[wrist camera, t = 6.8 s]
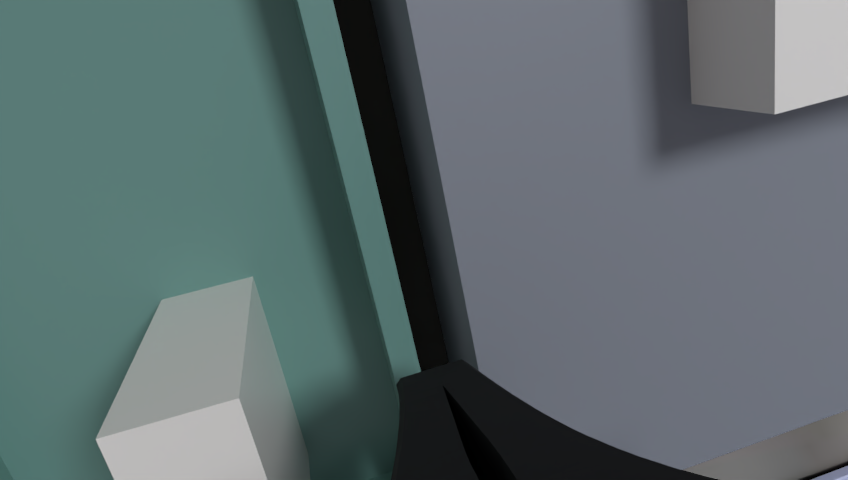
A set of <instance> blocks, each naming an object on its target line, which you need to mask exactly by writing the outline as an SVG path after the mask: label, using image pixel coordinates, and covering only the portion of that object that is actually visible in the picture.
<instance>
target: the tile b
mask: <svg viewBox="0 0 848 480" xmlns="http://www.w3.org/2000/svg"><path fill="white" fill-rule="evenodd" d="M687 7H688V31H689V55H690V79H691V102H692V104H696V105H704V106H712V107H720V108H727V109H735V110H743V111H751V112H759V113H767V114H778V113H782V112H786V111H790V110H793V109H797V108H801V107H805V106H808V105H812V104H816V103H820V102H824V101H827V100H831V99H835V98H839V97H842V96H846V95H848V0H687Z"/></svg>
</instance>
